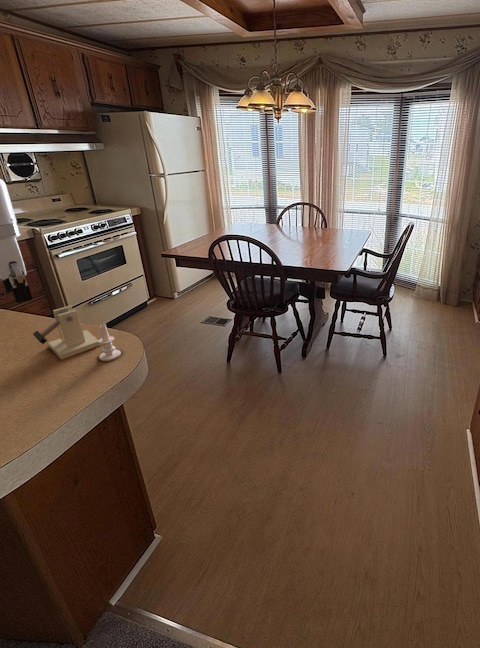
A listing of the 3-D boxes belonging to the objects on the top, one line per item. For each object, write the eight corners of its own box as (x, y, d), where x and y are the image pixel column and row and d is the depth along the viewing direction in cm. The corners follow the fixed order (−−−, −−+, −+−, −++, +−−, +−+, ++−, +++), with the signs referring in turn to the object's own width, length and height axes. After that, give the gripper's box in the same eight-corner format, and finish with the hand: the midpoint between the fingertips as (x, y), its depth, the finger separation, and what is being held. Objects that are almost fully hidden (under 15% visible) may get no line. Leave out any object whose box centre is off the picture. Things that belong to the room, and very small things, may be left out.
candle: (105, 363, 94) (97, 330, 90) (95, 357, 96) (87, 324, 92) (124, 354, 98) (117, 322, 94) (114, 348, 100) (106, 317, 96)
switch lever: (44, 345, 92) (37, 340, 91) (38, 337, 96) (30, 332, 94) (77, 318, 97) (71, 313, 95) (70, 311, 100) (63, 306, 99)
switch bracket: (61, 359, 94) (49, 322, 90) (49, 346, 100) (37, 310, 96) (100, 345, 102) (91, 309, 97) (87, 334, 107) (78, 300, 103)
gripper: (-31, 226, 84) (-8, 290, 91) (-15, 240, 74) (9, 310, 81) (9, 222, 90) (27, 283, 96) (28, 235, 80) (47, 301, 87)
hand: (19, 295), depth 89 cm, fingers open, 9 cm apart
